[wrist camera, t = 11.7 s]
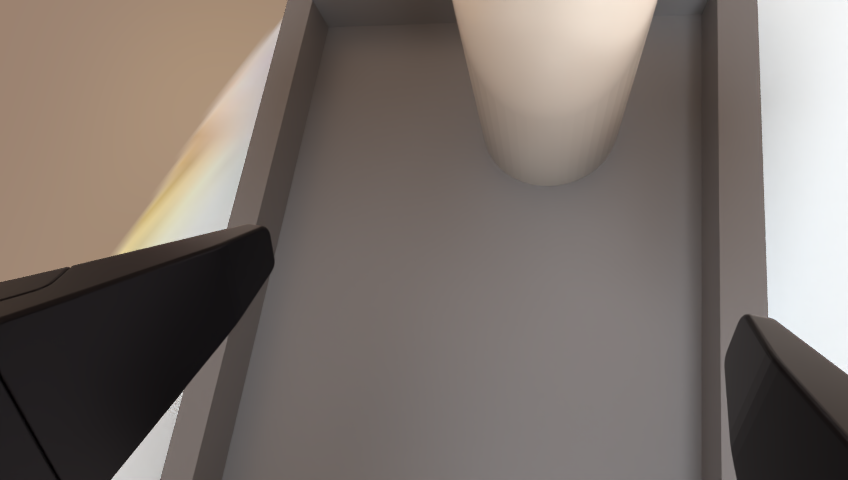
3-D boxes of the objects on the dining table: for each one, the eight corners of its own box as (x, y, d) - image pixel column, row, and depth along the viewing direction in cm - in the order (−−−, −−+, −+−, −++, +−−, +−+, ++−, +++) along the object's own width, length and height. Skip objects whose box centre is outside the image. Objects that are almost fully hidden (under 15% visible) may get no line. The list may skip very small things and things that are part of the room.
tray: (741, 740, 13) (785, 817, 11) (182, 570, 18) (128, 598, 15) (729, 2, 19) (755, -51, 17) (317, 18, 24) (293, -22, 22)
